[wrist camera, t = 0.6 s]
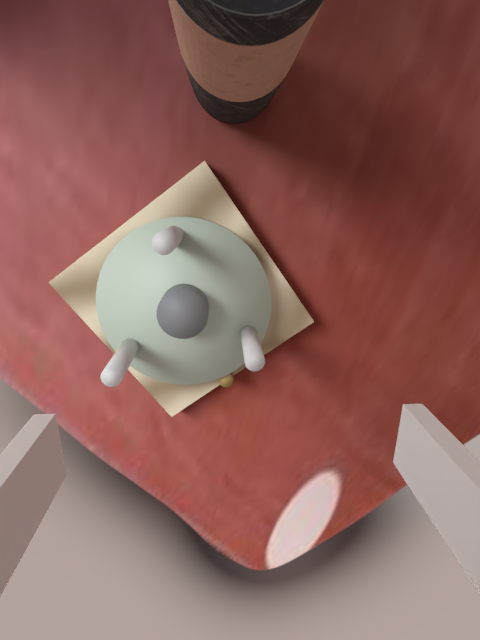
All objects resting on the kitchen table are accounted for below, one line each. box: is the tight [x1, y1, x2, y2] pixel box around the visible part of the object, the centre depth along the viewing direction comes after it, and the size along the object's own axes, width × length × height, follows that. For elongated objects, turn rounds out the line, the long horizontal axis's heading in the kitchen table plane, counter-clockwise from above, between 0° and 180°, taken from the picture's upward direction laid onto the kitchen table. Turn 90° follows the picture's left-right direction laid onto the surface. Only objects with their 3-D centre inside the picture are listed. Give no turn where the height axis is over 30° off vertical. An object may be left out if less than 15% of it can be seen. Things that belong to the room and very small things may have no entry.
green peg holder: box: [96, 216, 271, 387], centre depth 31 cm, size 16×16×8 cm
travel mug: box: [168, 0, 325, 123], centre depth 21 cm, size 8×8×20 cm
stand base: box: [49, 161, 314, 417], centre depth 35 cm, size 18×18×3 cm
